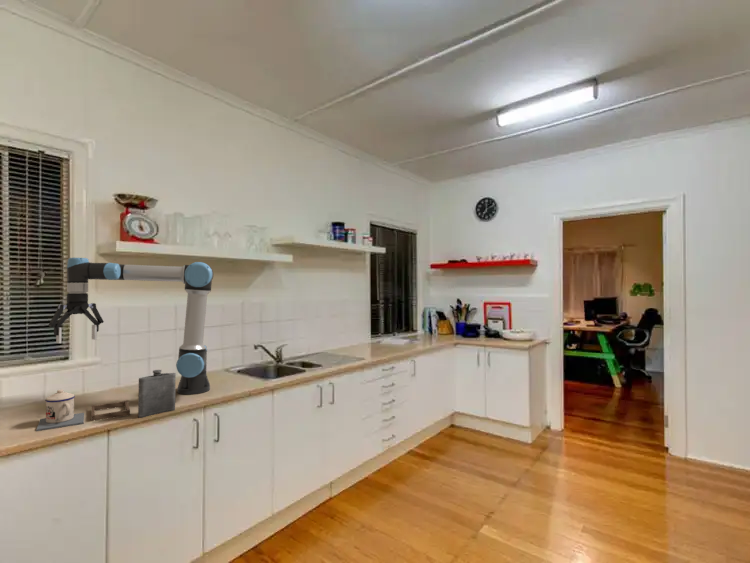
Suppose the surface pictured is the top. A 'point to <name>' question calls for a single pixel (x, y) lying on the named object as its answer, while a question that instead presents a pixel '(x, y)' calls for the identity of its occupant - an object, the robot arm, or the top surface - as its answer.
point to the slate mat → (74, 421)
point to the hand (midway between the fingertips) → (77, 341)
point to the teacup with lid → (59, 407)
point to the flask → (156, 394)
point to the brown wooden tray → (112, 414)
